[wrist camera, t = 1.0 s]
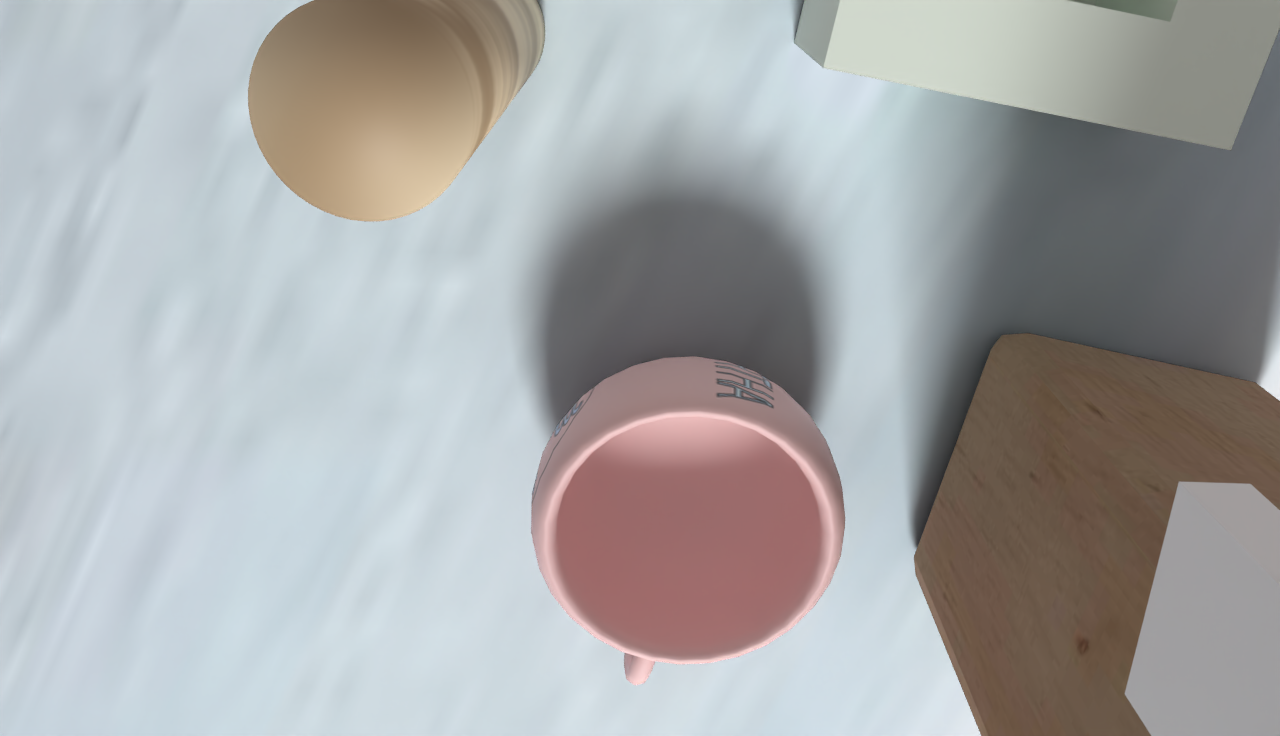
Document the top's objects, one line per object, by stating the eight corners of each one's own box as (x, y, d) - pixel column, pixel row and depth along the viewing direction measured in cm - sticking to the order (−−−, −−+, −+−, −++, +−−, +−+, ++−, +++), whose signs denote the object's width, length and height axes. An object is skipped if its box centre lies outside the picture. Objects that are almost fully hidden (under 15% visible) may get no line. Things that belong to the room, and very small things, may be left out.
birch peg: (407, 84, 34) (241, 199, 20) (422, -51, 33) (254, -28, 19) (534, 109, 34) (457, 239, 20) (554, -24, 33) (486, 19, 19)
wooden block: (990, 316, 37) (1335, 719, 18) (1267, 377, 38) (1865, 820, 19) (899, 564, 41) (1110, 1106, 22) (1152, 614, 41) (1561, 1178, 23)
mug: (580, 292, 37) (568, 357, 31) (861, 362, 38) (898, 438, 32) (505, 585, 41) (483, 688, 36) (758, 642, 42) (775, 751, 37)
